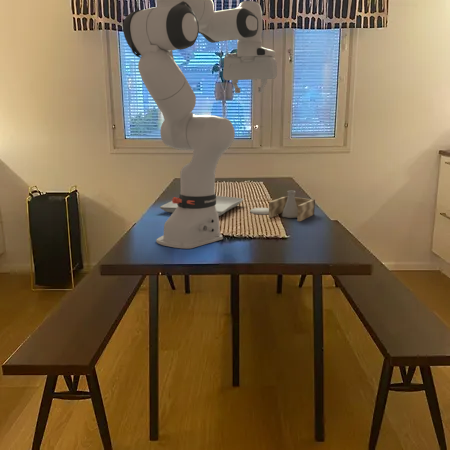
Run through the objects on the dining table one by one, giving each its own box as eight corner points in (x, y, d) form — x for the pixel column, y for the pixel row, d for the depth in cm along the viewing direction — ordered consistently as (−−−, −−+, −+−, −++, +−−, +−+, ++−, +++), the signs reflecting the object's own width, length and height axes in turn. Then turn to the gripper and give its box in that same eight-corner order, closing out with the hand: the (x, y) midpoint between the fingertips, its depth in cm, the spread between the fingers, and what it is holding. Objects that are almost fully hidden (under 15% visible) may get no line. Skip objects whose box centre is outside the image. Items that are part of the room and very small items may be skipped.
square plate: (188, 201, 211) (187, 193, 210) (245, 206, 201) (245, 197, 200) (159, 214, 186) (158, 205, 185) (222, 220, 177) (222, 210, 176)
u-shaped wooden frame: (299, 221, 173) (300, 205, 171) (268, 217, 180) (269, 202, 178) (314, 214, 184) (314, 199, 183) (284, 210, 191) (285, 196, 190)
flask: (299, 219, 177) (300, 193, 175) (280, 218, 178) (281, 192, 176) (300, 214, 184) (301, 189, 181) (282, 213, 185) (282, 189, 183)
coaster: (267, 215, 182) (267, 214, 182) (245, 212, 187) (245, 211, 187) (279, 210, 190) (279, 209, 190) (257, 208, 195) (257, 206, 195)
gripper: (219, 53, 167) (220, 93, 170) (272, 49, 157) (271, 92, 160) (228, 54, 172) (228, 93, 175) (279, 51, 162) (278, 92, 166)
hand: (249, 92), depth 168 cm, fingers open, 8 cm apart
